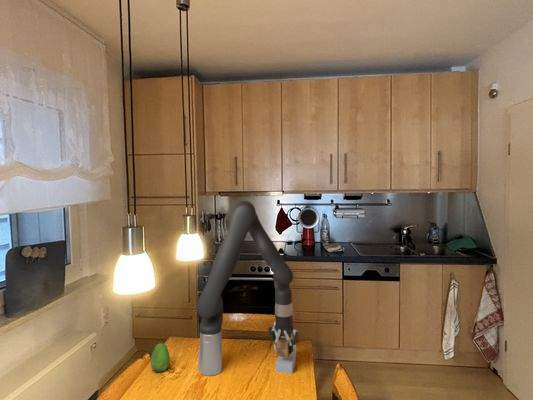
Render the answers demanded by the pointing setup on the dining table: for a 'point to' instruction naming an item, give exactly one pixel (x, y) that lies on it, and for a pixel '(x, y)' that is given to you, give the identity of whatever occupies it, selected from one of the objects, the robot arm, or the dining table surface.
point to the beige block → (294, 351)
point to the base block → (285, 364)
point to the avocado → (160, 358)
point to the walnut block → (283, 347)
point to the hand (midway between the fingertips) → (284, 351)
